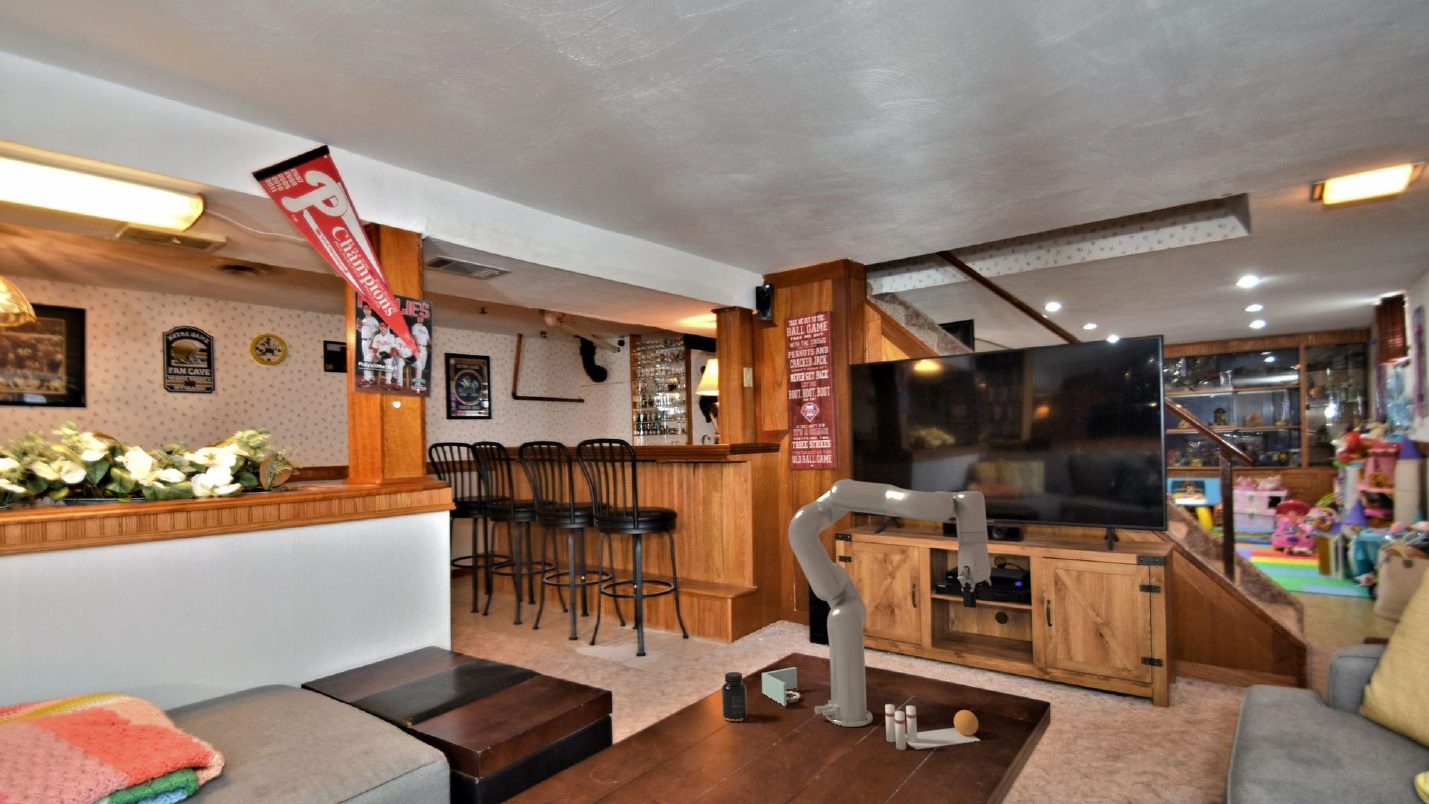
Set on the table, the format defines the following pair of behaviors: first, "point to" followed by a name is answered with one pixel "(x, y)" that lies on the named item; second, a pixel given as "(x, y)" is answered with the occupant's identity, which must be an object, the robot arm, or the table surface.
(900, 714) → the back pin right
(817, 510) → the robot arm
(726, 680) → the supplement bottle
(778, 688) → the right angle wall
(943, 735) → the lane mark
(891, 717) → the back pin left
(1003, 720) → the table surface
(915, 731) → the front pin
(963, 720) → the ball
